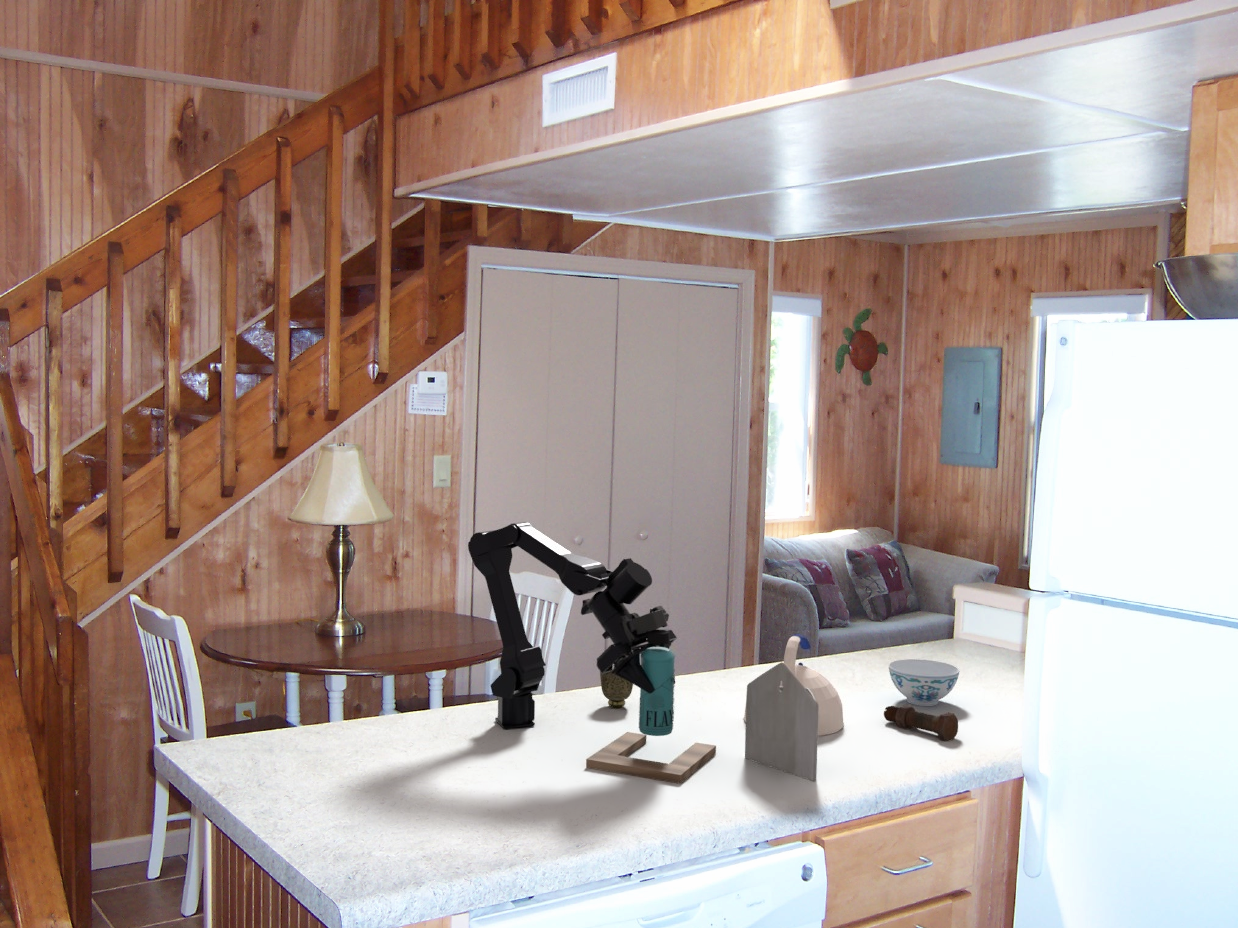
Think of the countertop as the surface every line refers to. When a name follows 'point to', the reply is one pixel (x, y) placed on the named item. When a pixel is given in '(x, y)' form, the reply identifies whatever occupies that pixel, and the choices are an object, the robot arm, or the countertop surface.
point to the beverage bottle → (657, 687)
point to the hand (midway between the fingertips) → (663, 688)
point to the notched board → (675, 771)
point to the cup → (615, 689)
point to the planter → (782, 723)
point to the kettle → (815, 688)
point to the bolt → (923, 721)
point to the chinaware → (923, 680)
